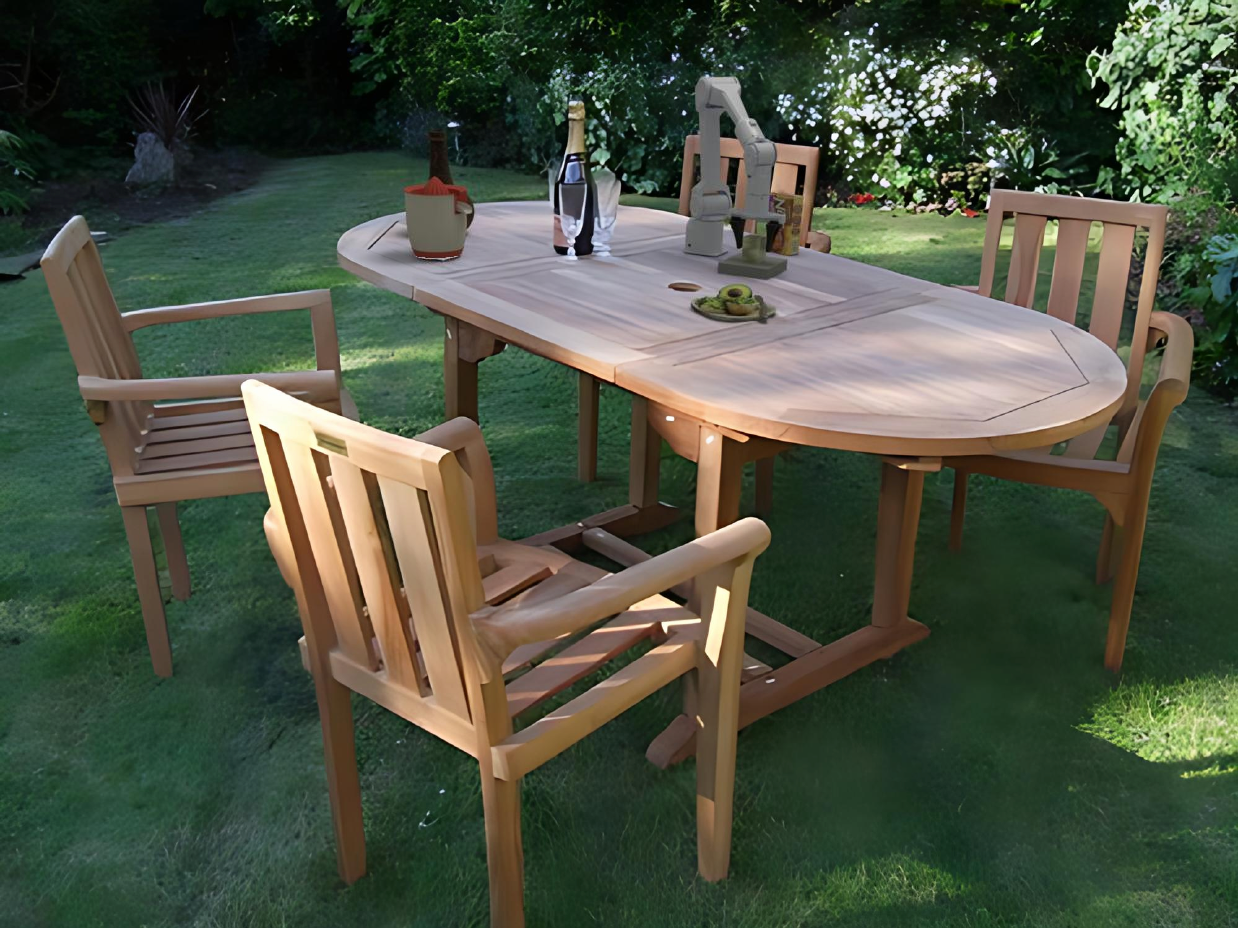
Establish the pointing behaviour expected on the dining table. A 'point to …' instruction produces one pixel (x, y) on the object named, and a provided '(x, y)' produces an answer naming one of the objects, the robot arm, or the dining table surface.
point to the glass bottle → (443, 164)
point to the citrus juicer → (436, 219)
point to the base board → (752, 267)
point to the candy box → (787, 221)
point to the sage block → (754, 248)
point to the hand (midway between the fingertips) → (753, 250)
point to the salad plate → (734, 305)
